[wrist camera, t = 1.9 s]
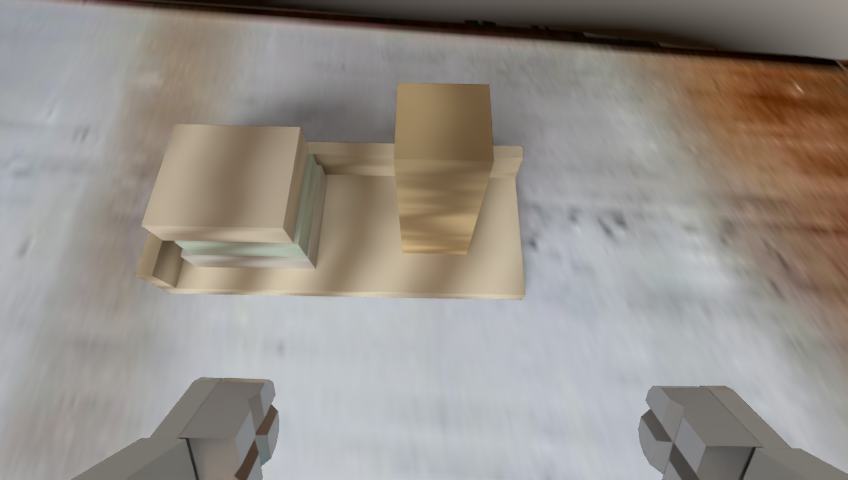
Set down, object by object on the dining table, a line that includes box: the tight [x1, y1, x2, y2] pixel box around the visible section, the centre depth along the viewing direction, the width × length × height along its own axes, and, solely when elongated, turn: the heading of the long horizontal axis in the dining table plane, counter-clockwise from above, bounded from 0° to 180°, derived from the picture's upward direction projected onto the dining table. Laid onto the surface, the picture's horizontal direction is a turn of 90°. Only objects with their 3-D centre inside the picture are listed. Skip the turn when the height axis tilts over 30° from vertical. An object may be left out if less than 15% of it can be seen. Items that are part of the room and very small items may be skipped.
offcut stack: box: [141, 124, 327, 269], centre depth 26 cm, size 8×7×6 cm
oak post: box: [394, 83, 494, 254], centre depth 24 cm, size 4×4×11 cm
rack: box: [135, 142, 525, 300], centre depth 28 cm, size 24×10×4 cm, turn 89°
